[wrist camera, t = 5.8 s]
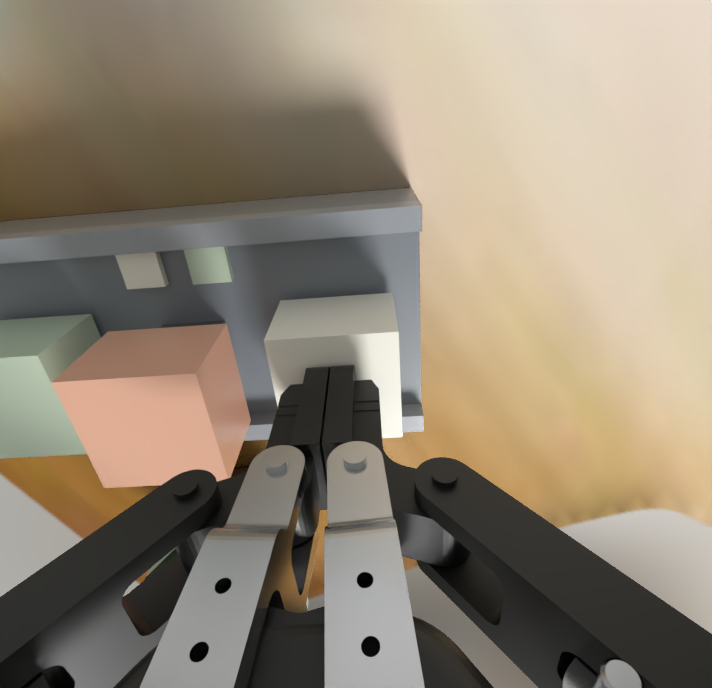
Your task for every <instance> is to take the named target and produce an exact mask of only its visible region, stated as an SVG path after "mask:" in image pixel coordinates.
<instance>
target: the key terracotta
mask: <svg viewBox="0 0 712 688" xmlns="http://www.w3.org/2000/svg"><path fill="white" fill-rule="evenodd" d="M51 383H52V385H53V387H54V389H55V391H56V393H57V395H58V397H59V399H60V401H61V403H62V405H63V407H64V409H65V411H66V413H67V415H68V417H69V419H70V421H71V423H72V425H73V427H74V429H75V431H76V433H77V435H78V437H79V439H80V441H81V443H82V445H83V447H84V449H85V451H86V453H87V455H88V457H89V459H90V461H91V463H92V464H93V466H94V468H95V470H96V472H97V474H98V476H99V478H100V480H101V482H102V484H103V486H104V488H114V487H135V486H155V485H163V484H164V483H165V482H167V481H168V480H170V479H171V478H173V477H174V476H176V475H178V474H180V473H183V472H186V471H189V470H195V469H201V470H206V471H209V472H211V473H212V474H213V475H214V476H215V478H216V481H217V482H218V481H221V480H224V479H227V478H231V475H232V472H233V470H234V467H235V464H236V461H237V458H238V455H239V453H240V450H241V447H242V444H243V441H244V438H245V436H246V433H247V430H248V427H249V424H250V421H251V418H250V414H249V410H248V406H247V402H246V398H245V394H244V390H243V386H242V382H241V378H240V375H239V371H238V367H237V363H236V359H235V355H234V351H233V347H232V343H231V339H230V335H229V331H228V327H227V324H212V325H197V326H183V327H168V328H153V329H138V330H124V331H109V332H107V333H106V334H105V335H104V336H103V337H101V338H100V339H99V340H98V341H97V342H96V343H95V344H94V345H92V346H91V347H90V348H89V349H88V350H87V351H86V352H85V353H84V354H82V355H81V356H80V357H79V358H78V359H77V360H76V361H75V362H73V363H72V364H71V365H70V366H69V367H68V368H67V369H66V370H65V371H63V372H62V373H61V374H60V375H59V376H58V377H57V378H56V379H54V380H53V381H52V382H51Z"/></svg>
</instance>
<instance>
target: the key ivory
mask: <svg viewBox="0 0 712 688" xmlns="http://www.w3.org/2000/svg"><path fill="white" fill-rule="evenodd" d="M264 345H265V349H266V354H267V359H268V364H269V368H270V373H271V378H272V383H273V387H274V392H275V397H276V402H277V407H278V404H279V400H280V397H281V394H282V393H283V392H284V391H285V390H286V389H287V388H288V387H289V386H290V385H293V384H303V380H304V375H305V370H306V368H313V367H330V369H331V366H343V365H354V367H355V377H356V380H372V381H373V382H374V383H375V385H376V386H377V387H378V388H379V399H380V414H381V429H382V438H395V437H403V432H402V406H401V379H400V353H399V330H398V324H397V318H396V311H395V305H394V299H393V293H379V294H365V295H351V296H337V297H322V298H308V299H294V300H280V303H279V305H278V308H277V310H276V312H275V315H274V317H273V319H272V322H271V324H270V327H269V329H268V331H267V334H266V336H265V339H264Z"/></svg>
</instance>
